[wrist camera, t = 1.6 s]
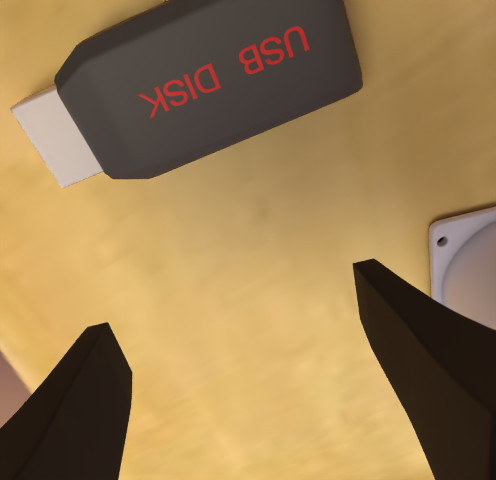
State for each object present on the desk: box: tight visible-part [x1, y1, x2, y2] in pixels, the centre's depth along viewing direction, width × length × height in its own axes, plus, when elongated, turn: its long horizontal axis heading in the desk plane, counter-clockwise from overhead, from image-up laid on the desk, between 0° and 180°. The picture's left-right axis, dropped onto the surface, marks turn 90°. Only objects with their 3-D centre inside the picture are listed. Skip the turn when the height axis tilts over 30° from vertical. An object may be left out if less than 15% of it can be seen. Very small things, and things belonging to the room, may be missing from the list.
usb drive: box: [11, 0, 363, 188], centre depth 17 cm, size 5×12×3 cm, turn 112°
